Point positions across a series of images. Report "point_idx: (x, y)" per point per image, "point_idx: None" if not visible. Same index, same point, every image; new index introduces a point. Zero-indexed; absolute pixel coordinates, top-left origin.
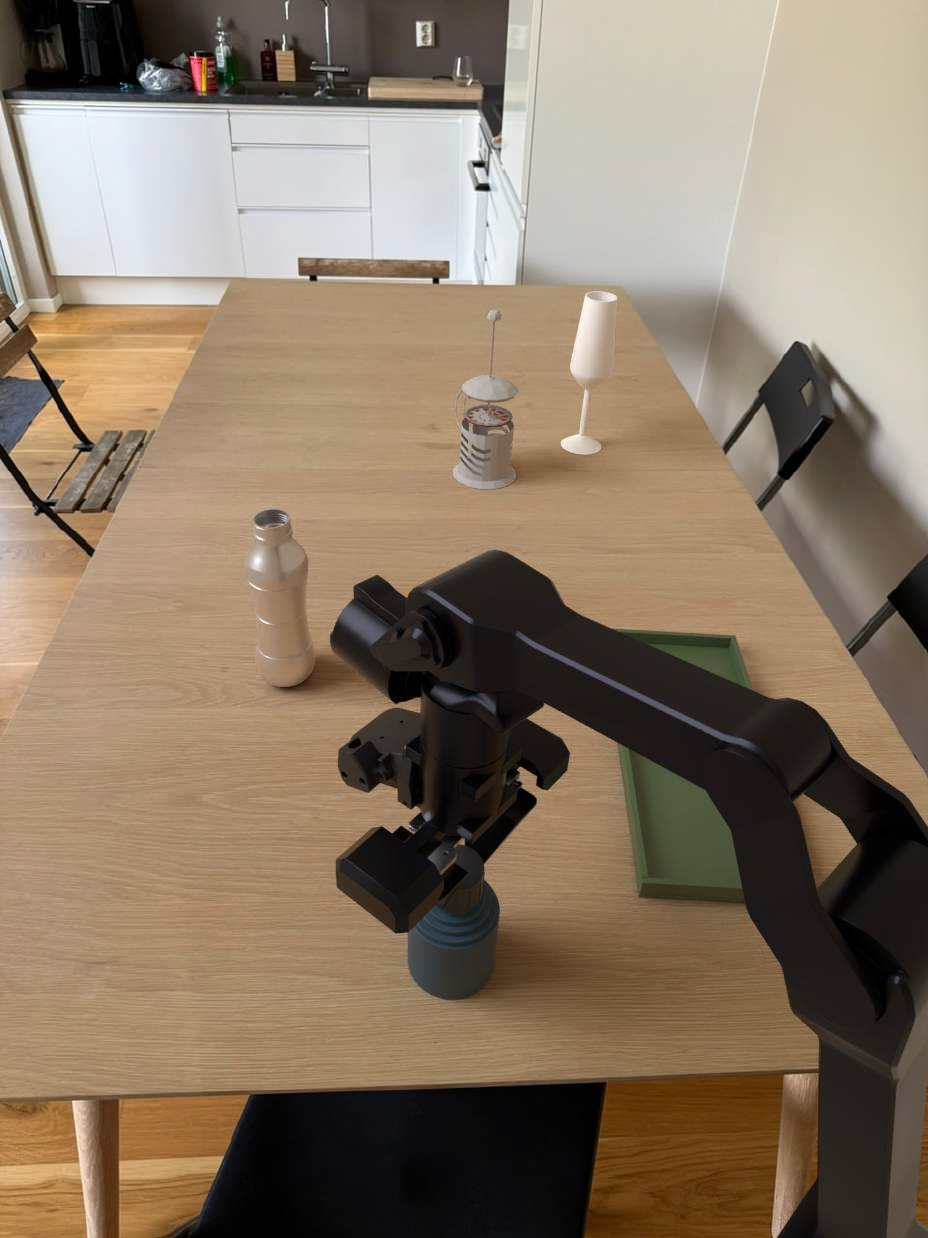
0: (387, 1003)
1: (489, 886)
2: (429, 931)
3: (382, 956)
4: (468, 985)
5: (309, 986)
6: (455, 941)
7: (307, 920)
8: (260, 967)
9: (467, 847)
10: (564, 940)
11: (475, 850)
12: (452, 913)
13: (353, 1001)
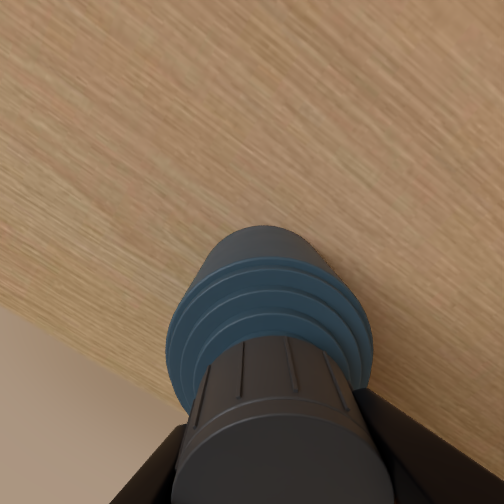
0: (150, 289)
1: (367, 377)
2: (180, 388)
3: (181, 225)
4: None
5: (65, 202)
6: None
7: (109, 93)
8: (8, 127)
9: (381, 468)
10: (411, 357)
11: (396, 495)
12: None
13: (111, 259)
